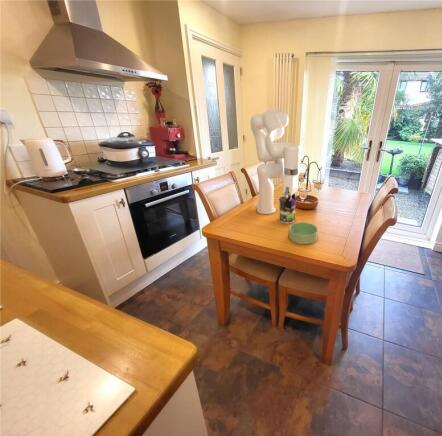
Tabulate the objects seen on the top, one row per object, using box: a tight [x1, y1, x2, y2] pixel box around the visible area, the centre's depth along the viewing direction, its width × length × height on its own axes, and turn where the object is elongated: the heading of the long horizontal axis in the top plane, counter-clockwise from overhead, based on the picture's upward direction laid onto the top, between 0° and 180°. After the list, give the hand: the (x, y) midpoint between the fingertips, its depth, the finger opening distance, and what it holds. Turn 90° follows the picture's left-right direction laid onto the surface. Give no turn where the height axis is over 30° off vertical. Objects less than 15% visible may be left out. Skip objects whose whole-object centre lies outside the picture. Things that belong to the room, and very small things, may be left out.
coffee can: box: [278, 196, 297, 225], centre depth 144 cm, size 10×10×14 cm
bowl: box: [288, 221, 319, 245], centre depth 126 cm, size 15×15×6 cm
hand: (290, 205), depth 122 cm, fingers closed on ball, 4 cm apart
